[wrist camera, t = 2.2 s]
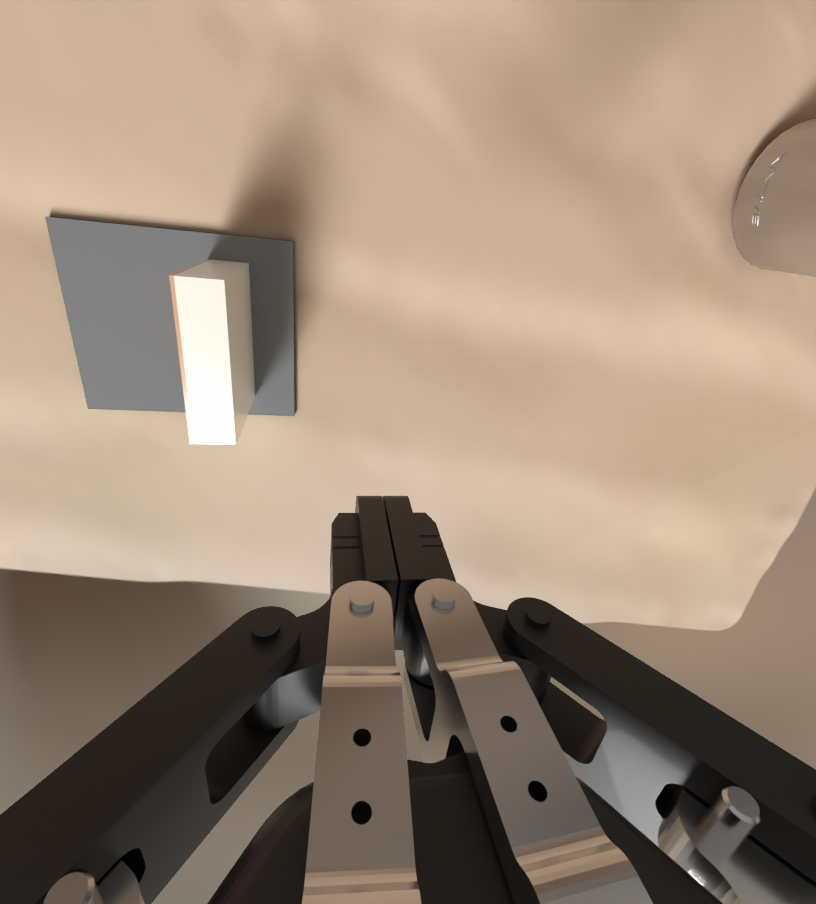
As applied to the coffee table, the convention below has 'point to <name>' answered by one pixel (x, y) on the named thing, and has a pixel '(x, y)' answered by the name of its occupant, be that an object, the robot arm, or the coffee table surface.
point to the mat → (164, 310)
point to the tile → (214, 348)
